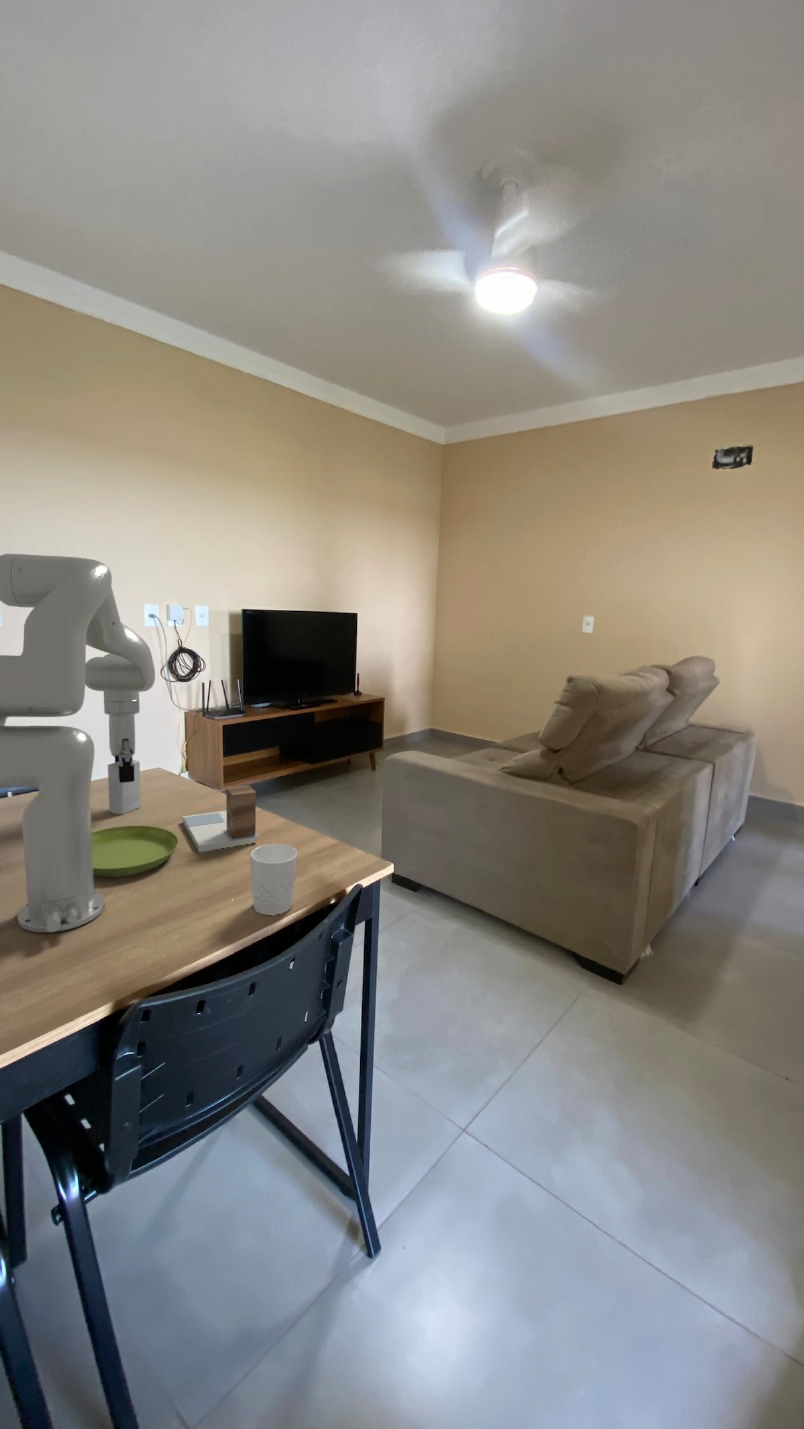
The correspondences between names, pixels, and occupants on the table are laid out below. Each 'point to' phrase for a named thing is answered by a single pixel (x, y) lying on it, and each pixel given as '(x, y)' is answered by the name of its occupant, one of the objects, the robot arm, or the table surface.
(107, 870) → the green plate
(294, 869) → the white cup
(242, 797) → the block
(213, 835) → the build board
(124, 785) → the skincare box
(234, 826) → the block
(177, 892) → the table surface
